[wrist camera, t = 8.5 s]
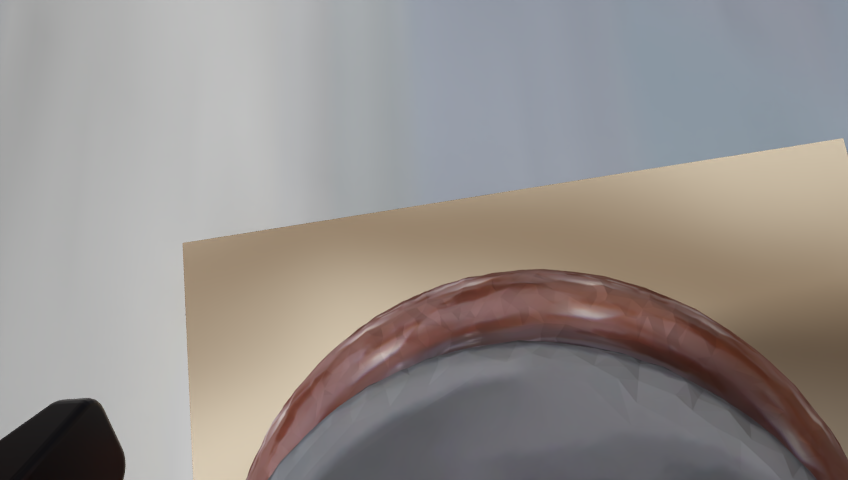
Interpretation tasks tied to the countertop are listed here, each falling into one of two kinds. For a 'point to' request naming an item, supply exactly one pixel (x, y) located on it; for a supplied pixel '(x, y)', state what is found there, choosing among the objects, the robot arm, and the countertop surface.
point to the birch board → (522, 250)
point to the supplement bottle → (546, 393)
